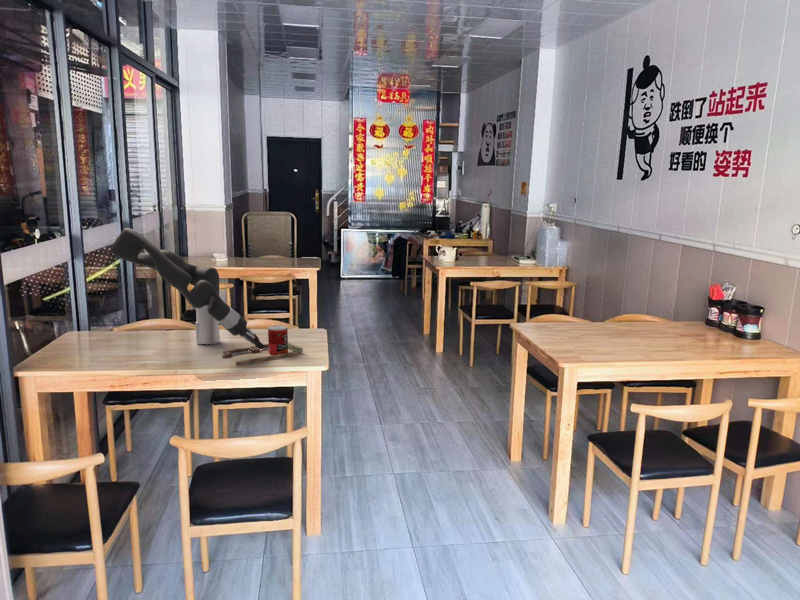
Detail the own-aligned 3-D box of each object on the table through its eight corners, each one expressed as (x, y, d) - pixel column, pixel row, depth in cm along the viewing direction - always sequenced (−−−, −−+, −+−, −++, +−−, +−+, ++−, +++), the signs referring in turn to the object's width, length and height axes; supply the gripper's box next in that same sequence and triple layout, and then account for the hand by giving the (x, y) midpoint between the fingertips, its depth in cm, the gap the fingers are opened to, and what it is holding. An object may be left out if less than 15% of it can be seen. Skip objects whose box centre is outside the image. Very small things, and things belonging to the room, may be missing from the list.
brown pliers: (237, 365, 228) (236, 359, 227) (217, 354, 243) (217, 348, 243) (303, 354, 245) (302, 348, 244) (281, 344, 260) (280, 338, 260)
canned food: (279, 356, 240) (278, 330, 239) (264, 354, 245) (263, 327, 243) (292, 352, 247) (291, 326, 245) (277, 349, 251) (276, 324, 249)
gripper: (218, 325, 235) (249, 351, 245) (232, 331, 225) (263, 358, 235) (231, 310, 238) (260, 336, 247) (245, 316, 227) (275, 343, 237)
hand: (262, 347), depth 241 cm, fingers closed
